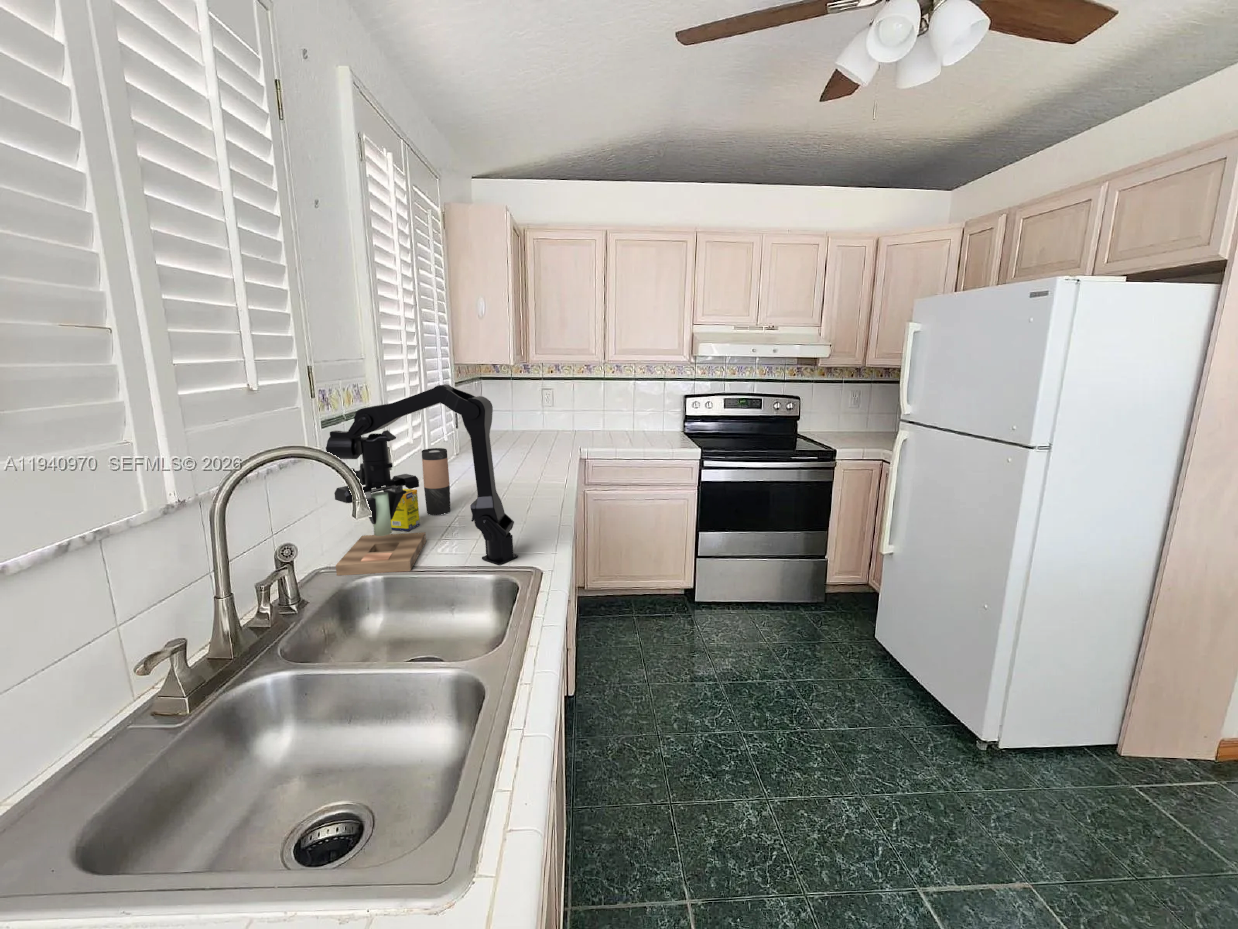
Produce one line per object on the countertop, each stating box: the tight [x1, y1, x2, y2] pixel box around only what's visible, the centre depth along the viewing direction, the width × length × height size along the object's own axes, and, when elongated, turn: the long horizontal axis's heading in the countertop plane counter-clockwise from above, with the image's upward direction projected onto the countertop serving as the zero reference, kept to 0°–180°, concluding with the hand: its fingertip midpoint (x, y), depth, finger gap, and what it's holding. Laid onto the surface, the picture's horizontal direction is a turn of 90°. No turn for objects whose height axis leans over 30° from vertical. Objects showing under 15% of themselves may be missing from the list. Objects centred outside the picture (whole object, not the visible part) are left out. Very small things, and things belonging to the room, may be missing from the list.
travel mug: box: [421, 447, 451, 516], centre depth 166 cm, size 8×8×20 cm
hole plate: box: [335, 531, 427, 577], centre depth 132 cm, size 20×16×3 cm
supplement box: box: [391, 488, 421, 532], centre depth 153 cm, size 6×6×11 cm
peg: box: [371, 491, 393, 536], centre depth 130 cm, size 4×4×10 cm
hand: (382, 521), depth 130 cm, fingers closed on peg, 4 cm apart
